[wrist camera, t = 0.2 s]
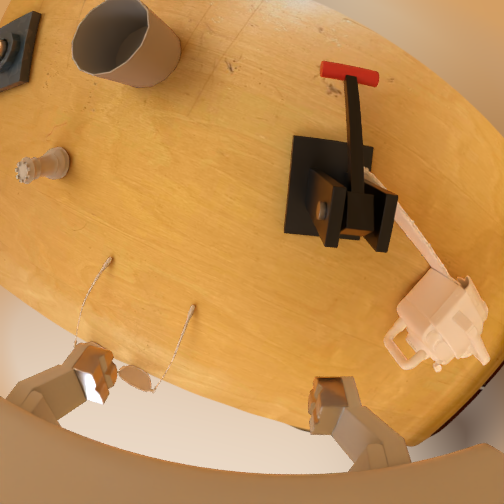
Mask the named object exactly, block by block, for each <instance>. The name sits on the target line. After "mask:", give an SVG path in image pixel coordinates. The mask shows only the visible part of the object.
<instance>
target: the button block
mask: <svg viewBox="0 0 504 504" xmlns="http://www.w3.org/2000/svg"><path fill="white" fill-rule="evenodd" d="M40 16H41V14H40V13H37V12H34V11H32V12H30V13H28V14H26V15H24V16H22V17H20V18H18V19H16V20H14V21H12V22H10V23H9V24H7V25H5V26H3V27H2V28H0V40H3V41H7V42H8V48H7V52H6V54H5V56H4V58H3V59H2V60H1V62H0V92H3V91H5V90H8V89H10V88H13V87H16V86H19V85H21V84H24V83H27V82H29V74H30V67H31V60H32V54H33V48H34V43H35V38H36V33H37V28H38V24H39V20H40Z"/></svg>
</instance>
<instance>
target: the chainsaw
mask: <svg viewBox="0 0 504 504" xmlns="http://www.w3.org/2000/svg"><path fill="white" fill-rule="evenodd" d="M364 179H366V180H368V181H370V182H372V183H374V184H376V185H378V186H380V187H382V188H384V189H386V190H387V188H386V187H384V186H383V184H382V183H381V182H380V181H379V180H378V179H377V178H376V177H375V175H374V174H373V173H371V172H370V171H369V169H368V168H365V167H364ZM394 220H395V221H396V222H397V224H398V225H399V226H400V228H401V229H402V230H403V231H404V232H405V234H406V236H407V237H409V239H410V240H411V241H412V242H413V244H414V245H415V246H416V247H417V249H418V250H419V251H420V252H421V255H422V256H424V258H425V259H426V260H427V262H428V263H429V264H430V266H431V267H432V268H430V269H429V270H428V271H427V273H426V274H425V275H424V276H423V277H422V278H421V280H420V281H419V282H418V283H417V284H416V285H415V286H414V287H413V289H412V290H411V291H410V292H409V293H408V294H407V295H406V296H405V297H404V298H403V299H402V300H401V302H400V303H399V304H398V306H397V313H398V315H399V318H398V319H397V321H396V322H395V323H394V326H393V327H392V328H391V329H390V330H389V331H388V332H387V333H386V335H385V337H384V344H385V346H386V348H387V349H388V351H389V352H390V354H391V355H392V356H393V358H394V359H395V361H396V362H397V363H398V365H399V366H400V367H401V368H402V369H404V370H410V369H412V368H414V367H416V366H417V365H418V364H419V363H420V362H421V361H422V360H425V359H428V358H429V357H431V358H432V359H433V360H434V361H435V363H434V364H433V368H434V370H435V371H436V372H440V371H441V369H442V368H441V366H440V364H443V365H446V364H448V363H449V362H450V361H451V360H452V359H453V358H454V357H456V358H457V359H459V358H460V357H461V358H466V357H469V356H471V355H472V354H473V355H474V356H475V357H476V358H477V359H478V360H479V361H480V362H481V363H482V364H483V365H485V364H487V363H488V362H489V360H490V357H489V354H488V352H487V350H486V348H485V345H484V343H483V341H482V339H481V337H480V335H481V333H482V330H483V323H484V321H485V320H486V319H487V315H488V307H487V305H486V303H485V302H484V301H483V300H482V299H481V297H480V295H479V293H478V291H477V289H476V287H475V285H474V284H473V282H472V280H471V278H470V277H469V276H466V278H465V279H464V278H462V277H457V280H458V281H457V280H455V279H454V278H452V277H451V276H450V275H449V273H448V272H447V269H446V268H445V267H444V264H442V262H441V261H440V259H439V257H438V256H437V254H436V253H435V252H434V250H433V248H432V247H431V244H430V243H428V242H427V240H426V238H425V237H424V236H423V235H422V233H421V232H420V230H419V229H418V227H417V226H416V225H415V224H414V223H415V222H414V221H412V220H411V218H410V217H409V216H408V214H407V213H406V212H405V211H404V209H403V208H402V207H401V206H400V204H399V203H398V202H397V207H396V213H395V218H394ZM406 327H407V328H406ZM405 328H406V330H407V331H408V335H407V337H406V341H407V342H408V344H409V345H410V346H411V347H412V348H413V350H414V351H415V352H416V354H415V355H414V356H413V357H411V358H410V359H409V360H407V358H406V357H405V356H404V355H403V353H402V352H401V351H400V349H399V348H398V347H397V345H396V344H395V343H394V341H393V338H394V337H395V336H396V335H397V334H398V333H399V332H402V331H403V330H404V329H405Z"/></svg>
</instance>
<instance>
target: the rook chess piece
mask: <svg viewBox="0 0 504 504" xmlns="http://www.w3.org/2000/svg"><path fill="white" fill-rule="evenodd" d="M69 163H70V161H69V156H68V154H67V152H66V151H65V150H64V149H63V148H61V147H56V148H52V149H49V150H48V151H47V152H46V153H45V154H44V155H43V156H42V157H39V158H35V157H33V158H31V159H30V158H28V157H25V158H23V159H22V160H21V161H20V162H18V164H17V166H18V168H15V172H18V175H16V178H17V179H20V180H19V182H21V183H22V182H23V183H25V184H28V183H30V182H31V181H32V180H35V179H38V178H39V177H42V176H45V177H48V178H49V179H59V178H62V177H63V176H65V175H66V173H67V171H68V169H69Z"/></svg>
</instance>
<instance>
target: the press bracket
mask: <svg viewBox="0 0 504 504" xmlns="http://www.w3.org/2000/svg"><path fill="white" fill-rule="evenodd" d="M372 156H373V147H370V146H364V145H363V159H364V167H365V168H368V169H369V171H370V172H371V164H372ZM347 191H348V148H347V143H346V142H340V141H333V140H327V139H319V138H312V137H303V136H295V135H294V136H293V142H292V153H291V164H290V174H289V184H288V194H287V204H286V214H285V223H284V233H289V234H300V235H310V236H320V238H321V240H322V242H323V244H324V246H325V247H334V248H337V247H338V242H339V238H341V239H350V240H359V239H360V236H355V235H346V234H340V230H341V224H342V218H343V212H344V205H345V198H346V192H347ZM364 194H371V195H374V231H373V232H371V233H369V234H367V235H365V236H363V237H364V238H365V239H366V240H367V242H368V243H369V244H370V245H371V246H372V248H373V249H374V250H375V251H376V252H385V253H387V251H388V246H389V242H390V237H391V233H392V228H393V223H394V218H395V213H396V207H397V202H398V195H396V194H394V193H392V192H390V191H388V190H386V189H384V188H382V187H380V186H378V185H376V184H374V183H372V182H370V181H368V180H366V179H364Z"/></svg>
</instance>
